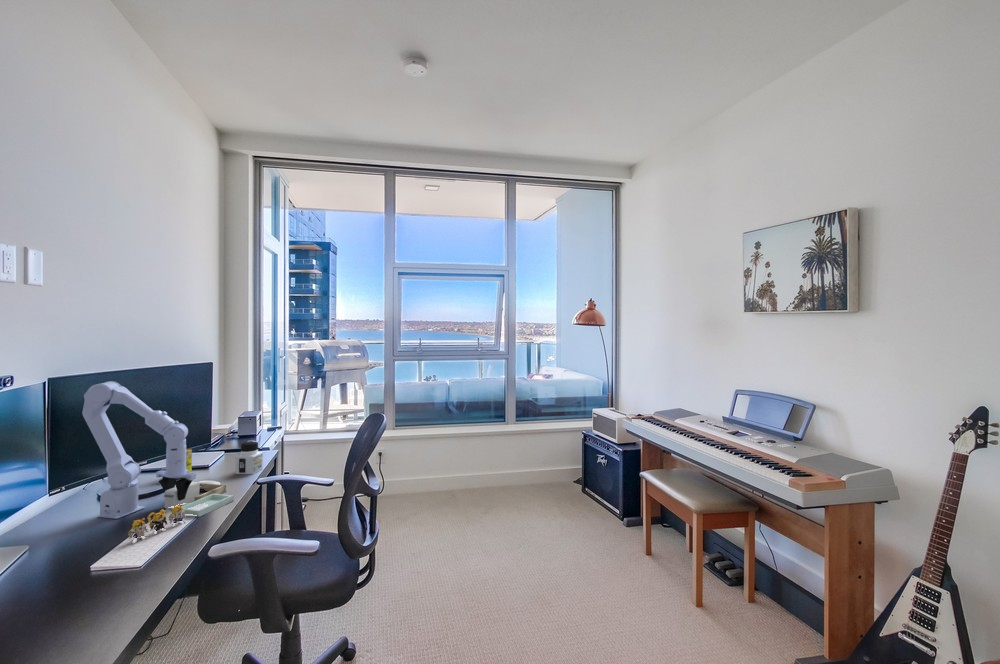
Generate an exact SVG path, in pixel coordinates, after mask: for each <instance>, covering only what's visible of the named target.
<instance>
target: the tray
mask: <svg viewBox="0 0 1000 664" xmlns="http://www.w3.org/2000/svg"><path fill="white" fill-rule="evenodd" d="M234 496H235V495H232V494H224V493H222V494H211V495H208V496H206V497H204V498H201V499H199V500H197V501H193V502H190V503H188V504H185V505H183V506H181V507H182V508H183V510H184V514H193V515H197V516H198V517H197V518H200V517H203V516H204V515H207V514H209V513H211V512H213V511H215V510H217V509H219V508H223V506H226V505H228V504H230V503H232V502H234V500H235V499H234ZM204 503H205V504H208V506H207V507H204V508H202V509H200V510H194V509H188V508H191V507H194V506H196V505H198V504H204Z"/></svg>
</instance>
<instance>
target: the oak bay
mask: <svg viewBox="0 0 1000 664" xmlns="http://www.w3.org/2000/svg"><path fill="white" fill-rule="evenodd" d="M200 486H201V487H203V488H204V490H205V492H204V493H201V494H199V496H196V497H194V501H197V500H199V499H201V498H204V497H206V496H208V495H211V494H224V493H227V485H226V484H219V483H207V482H200ZM204 490H203V491H204ZM206 491H207V492H206ZM194 501H193V502H194Z"/></svg>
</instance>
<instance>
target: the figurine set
mask: <svg viewBox="0 0 1000 664" xmlns="http://www.w3.org/2000/svg"><path fill="white" fill-rule="evenodd" d="M182 515H183V516H182ZM152 516H153V517H152ZM184 518H187V516H185V514H184V510H183V508H182V506H181V505H180V504H179V505H178V506H176V507H175V506H174V508H173V509H171V513H170V515H169V517H168V521H169V522H168V521H167V516H166V510H164V509H163V508H162V509H161V510H159V512H157V513H156V512H155V511H153V512H150V514H149V515H148V516H147V521H148V523H149V524H148V526H149V527H148V528H149V530H148V528H147V524H146V522H145V517H142V518H140V519H136V520H133V522H132V524H131V525H132V527H131V529H130V530H129V531H128V533H127V535H128V540H132V538H133V539H134V538H137V537H138V538H140V537H141V536H145V534H146V533H149V531H150V532H152V531H154V530H156V531H158V532H159V531H160V529H162V528H164V529H165V526H168V525H169V524H171V525H172V524H173V523H179V521H183V519H184ZM138 538H137V539H138Z"/></svg>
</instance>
